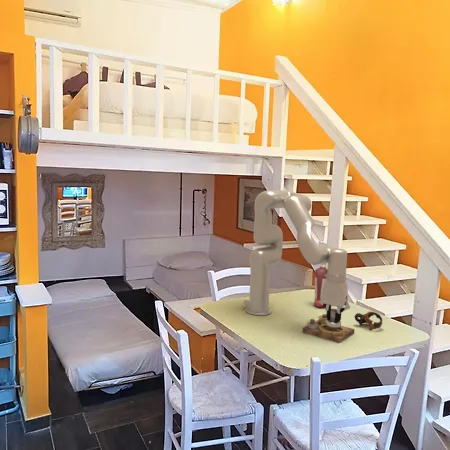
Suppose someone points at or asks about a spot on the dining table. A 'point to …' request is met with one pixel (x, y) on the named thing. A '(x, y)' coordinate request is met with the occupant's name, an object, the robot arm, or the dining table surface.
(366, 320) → the brown creature figurine
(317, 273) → the liquor
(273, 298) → the dining table surface
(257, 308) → the robot arm
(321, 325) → the carrier board
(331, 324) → the knobbed round disc
